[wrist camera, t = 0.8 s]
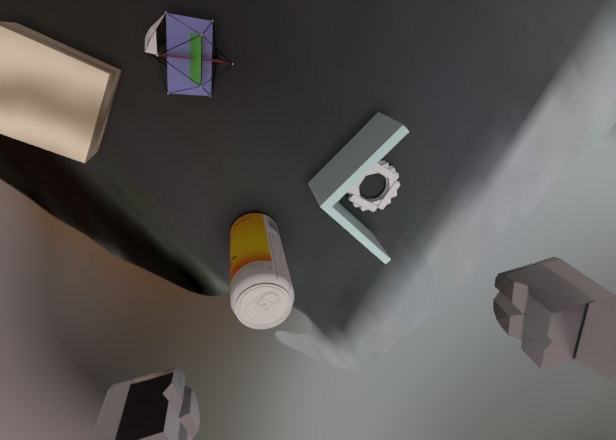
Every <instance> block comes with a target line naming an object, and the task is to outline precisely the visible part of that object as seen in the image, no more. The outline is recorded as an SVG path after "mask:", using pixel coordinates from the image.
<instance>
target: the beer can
mask: <svg viewBox="0 0 616 440" xmlns="http://www.w3.org/2000/svg"><path fill="white" fill-rule="evenodd" d="M230 293H231V307H232V310H233V312H234V313H235V314H236V316H237V317H238V319H239V321H240V322H241V323H243V324H244V325H246V326H248V327H250V328H254V329H267V328H271V327H274V326H276V325H278V324H280V323H281V322H283V321H284V320H285V319H286V318H287V317H288V315H289V314H290V311H291V308H292V305H293V302H294V291H293V287H292V283H291V279H290V275H289V271H288V267H287V263H286V259H285V255H284V251H283V247H282V243H281V239H280V236H279V232H278V228H277V225H276V223H275V222H274V221H273V220H272V219H271V218H270V217H268V216H266V215H264V214H261V213H250V214H246V215H244V216H242V217H240V218H239V219H237V220H236V221H235V223H234V224H233V226H232V228H231V231H230Z"/></svg>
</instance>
